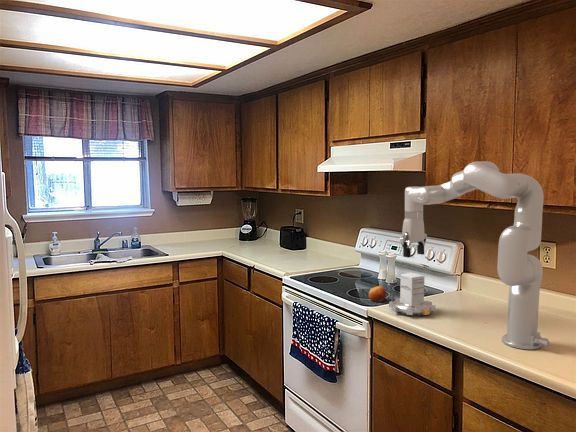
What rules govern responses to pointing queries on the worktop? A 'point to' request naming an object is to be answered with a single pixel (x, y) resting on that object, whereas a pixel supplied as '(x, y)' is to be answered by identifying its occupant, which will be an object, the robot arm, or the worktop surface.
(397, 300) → the silver knobbed tray
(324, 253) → the worktop surface
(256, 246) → the worktop surface
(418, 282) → the supplement box
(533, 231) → the robot arm
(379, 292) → the fruit
